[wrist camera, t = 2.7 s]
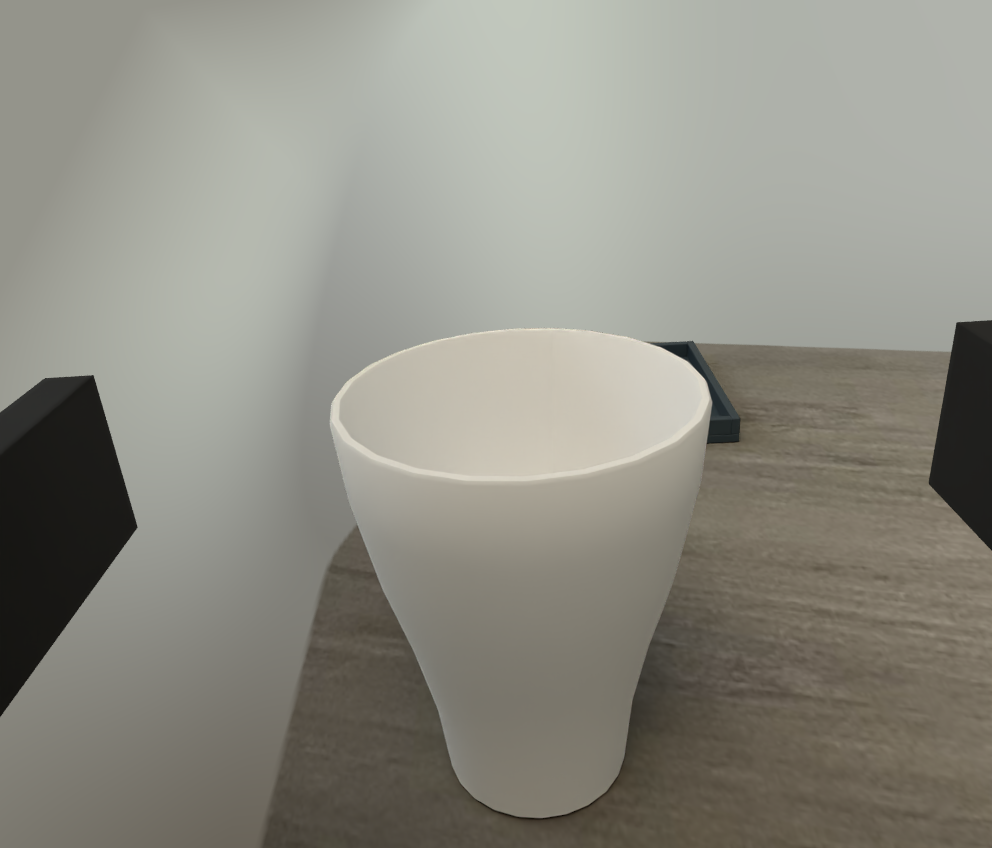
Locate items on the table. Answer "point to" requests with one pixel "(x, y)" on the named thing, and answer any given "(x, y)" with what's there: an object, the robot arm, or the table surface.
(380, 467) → the cup
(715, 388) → the frame
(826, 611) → the table surface
